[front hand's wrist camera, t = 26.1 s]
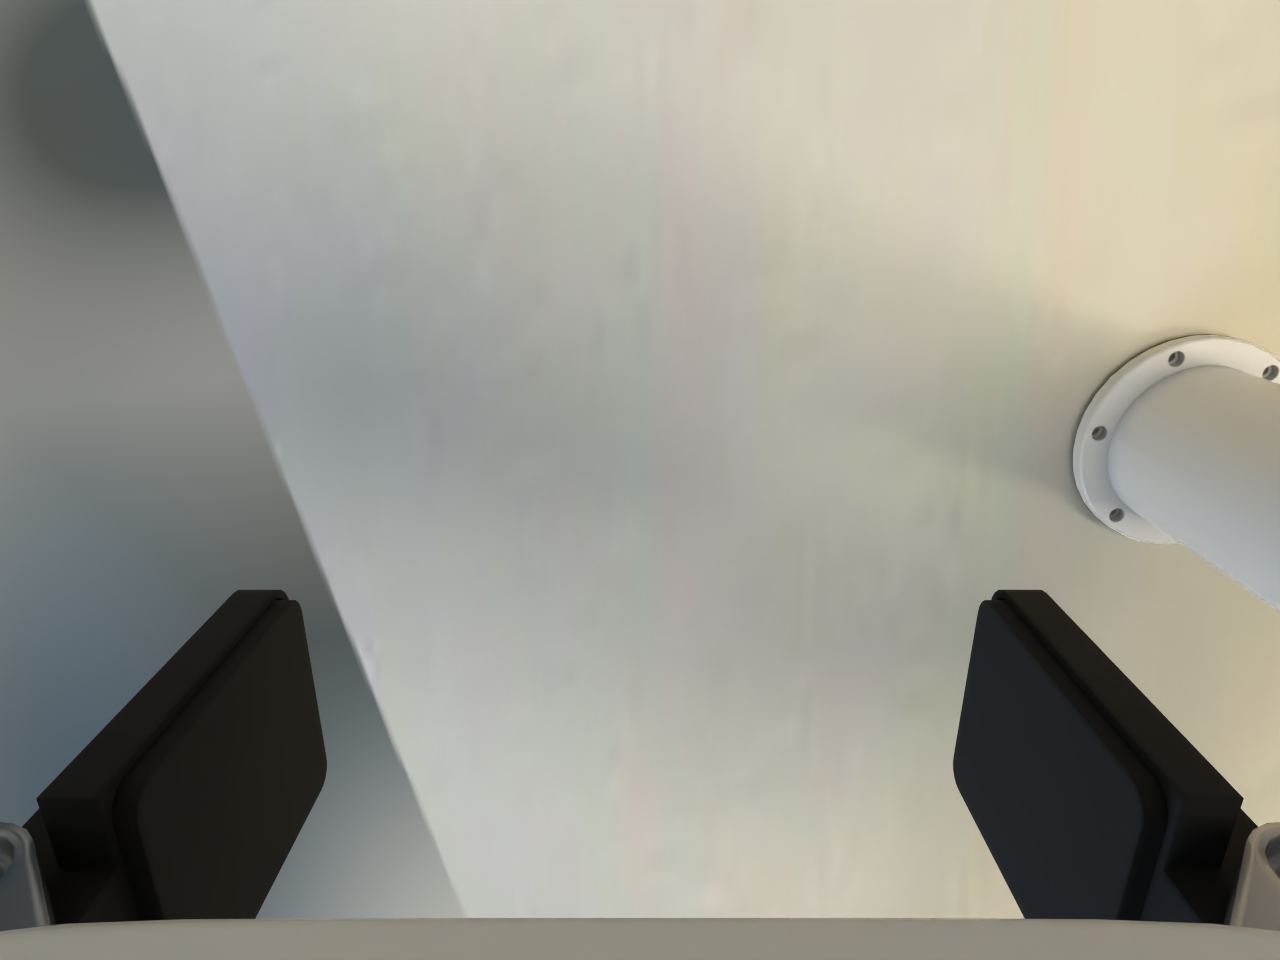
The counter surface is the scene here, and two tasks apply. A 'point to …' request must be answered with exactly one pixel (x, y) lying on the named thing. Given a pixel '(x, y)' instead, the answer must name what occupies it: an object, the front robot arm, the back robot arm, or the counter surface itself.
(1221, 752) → the counter surface
